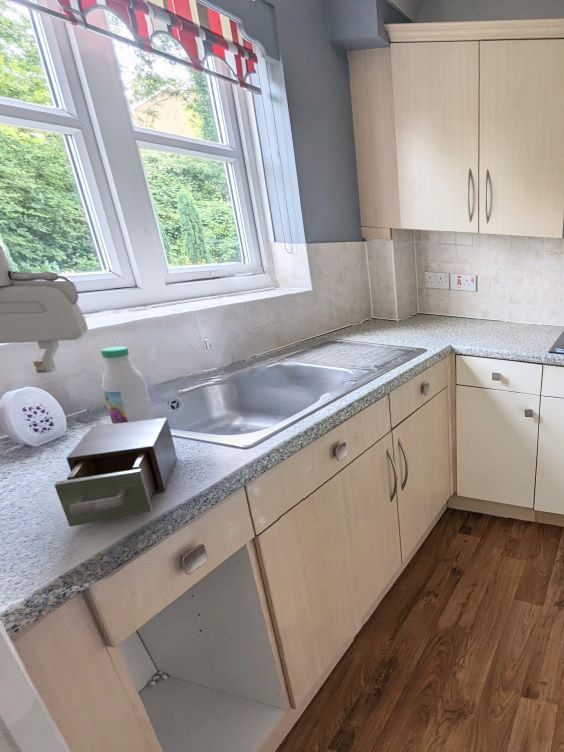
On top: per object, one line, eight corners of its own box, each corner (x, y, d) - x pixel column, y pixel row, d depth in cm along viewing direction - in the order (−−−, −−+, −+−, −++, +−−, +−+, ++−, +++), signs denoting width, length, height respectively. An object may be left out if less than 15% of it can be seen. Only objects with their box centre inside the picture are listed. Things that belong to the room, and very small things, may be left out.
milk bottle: (154, 420, 115) (134, 343, 108) (158, 429, 110) (138, 349, 103) (113, 427, 109) (89, 347, 103) (116, 438, 104) (91, 354, 97)
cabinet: (165, 491, 85) (153, 445, 82) (82, 506, 80) (66, 458, 76) (177, 458, 97) (167, 417, 94) (106, 469, 91) (92, 426, 88)
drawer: (145, 525, 74) (133, 483, 71) (59, 542, 69) (43, 498, 67) (165, 475, 89) (155, 439, 86) (95, 487, 84) (82, 449, 81)
